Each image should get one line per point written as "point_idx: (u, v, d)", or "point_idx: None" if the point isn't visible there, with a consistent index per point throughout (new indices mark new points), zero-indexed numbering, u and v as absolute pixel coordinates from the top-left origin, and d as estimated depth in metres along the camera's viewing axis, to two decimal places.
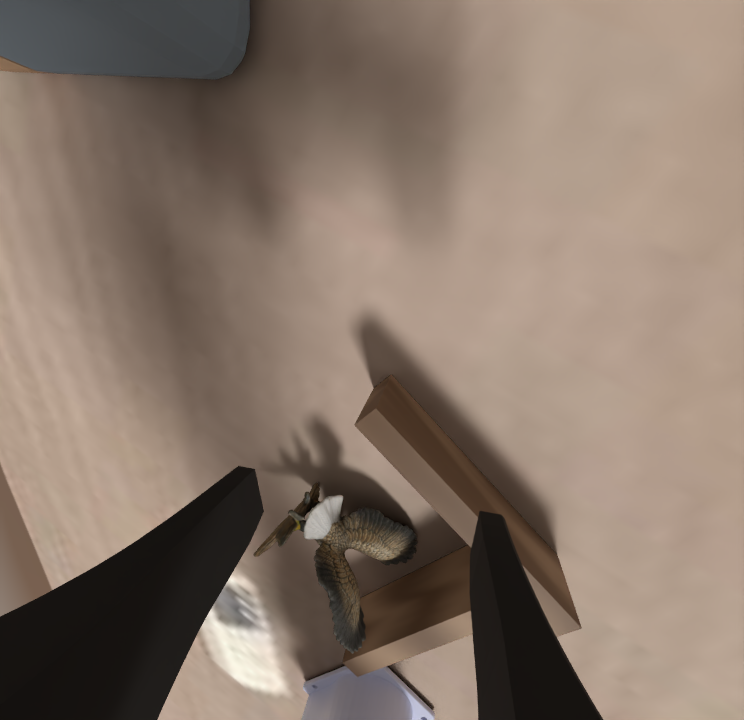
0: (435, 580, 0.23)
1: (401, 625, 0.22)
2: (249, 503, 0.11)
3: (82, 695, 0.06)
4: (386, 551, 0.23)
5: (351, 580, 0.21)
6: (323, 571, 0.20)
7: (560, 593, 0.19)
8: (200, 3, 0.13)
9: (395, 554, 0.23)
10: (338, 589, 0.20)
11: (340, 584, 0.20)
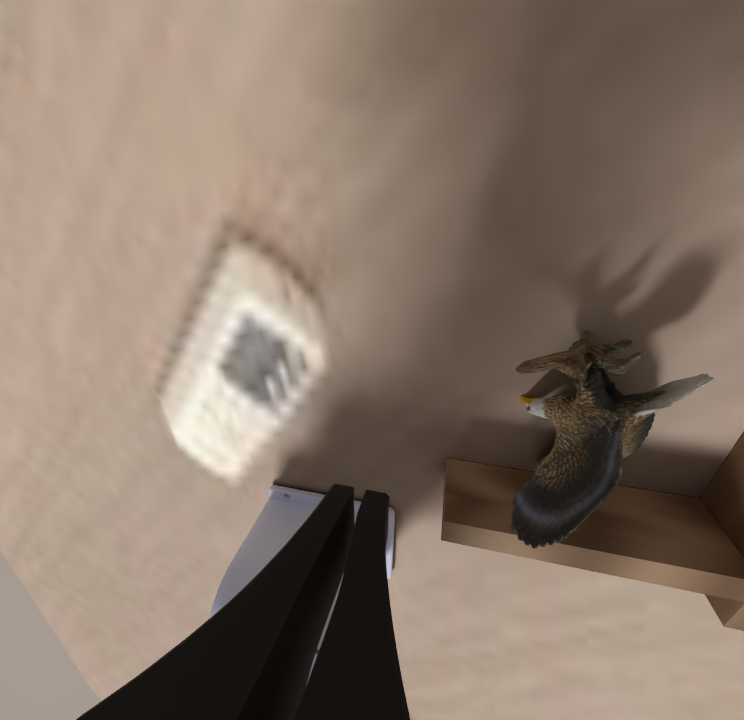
0: None
1: None
2: (348, 524, 0.10)
3: None
4: None
5: None
6: None
7: None
8: None
9: None
10: None
11: None
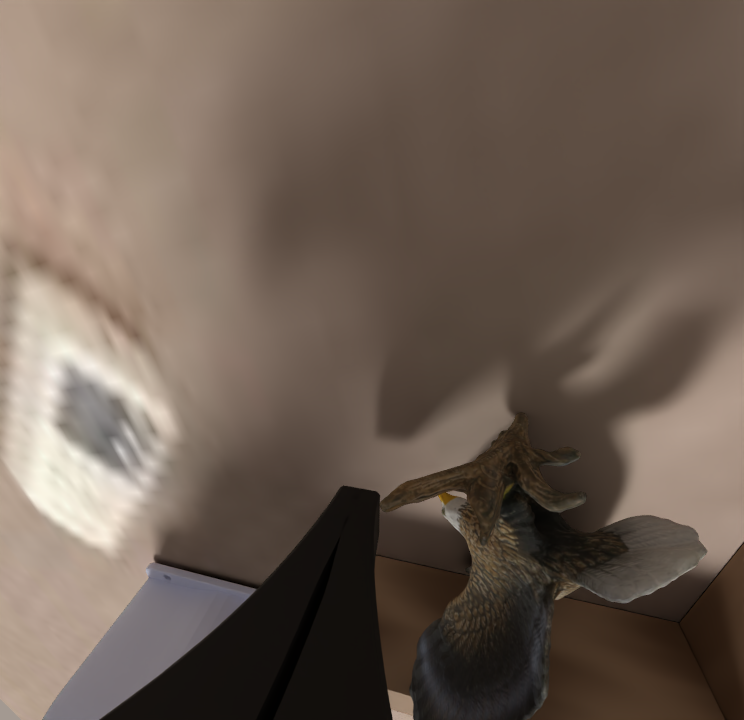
0: None
1: None
2: None
3: None
4: None
5: None
6: None
7: None
8: None
9: None
10: None
11: None
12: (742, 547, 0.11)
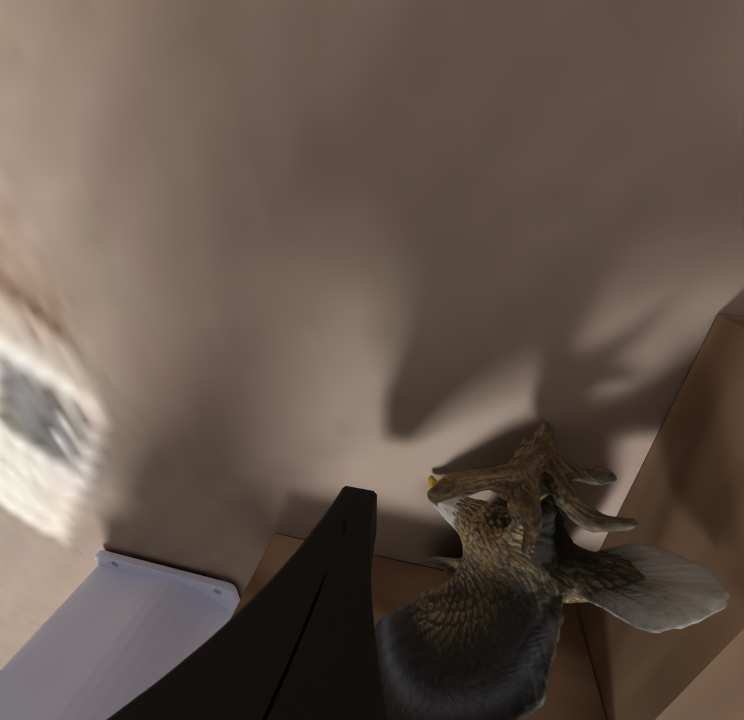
0: None
1: None
2: None
3: None
4: None
5: None
6: None
7: None
8: None
9: None
10: None
11: None
12: None
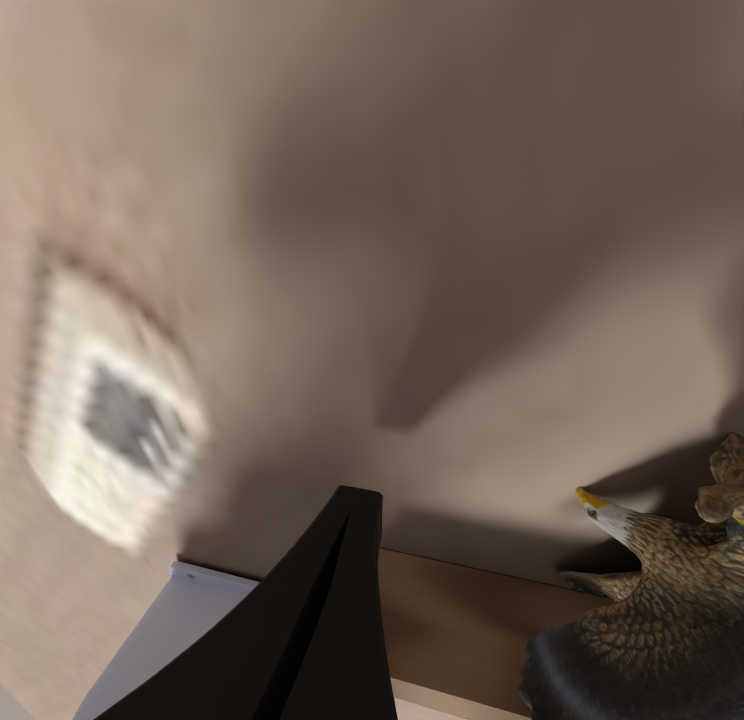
0: None
1: (503, 678, 0.12)
2: None
3: None
4: None
5: None
6: None
7: None
8: None
9: None
10: None
11: None
12: None
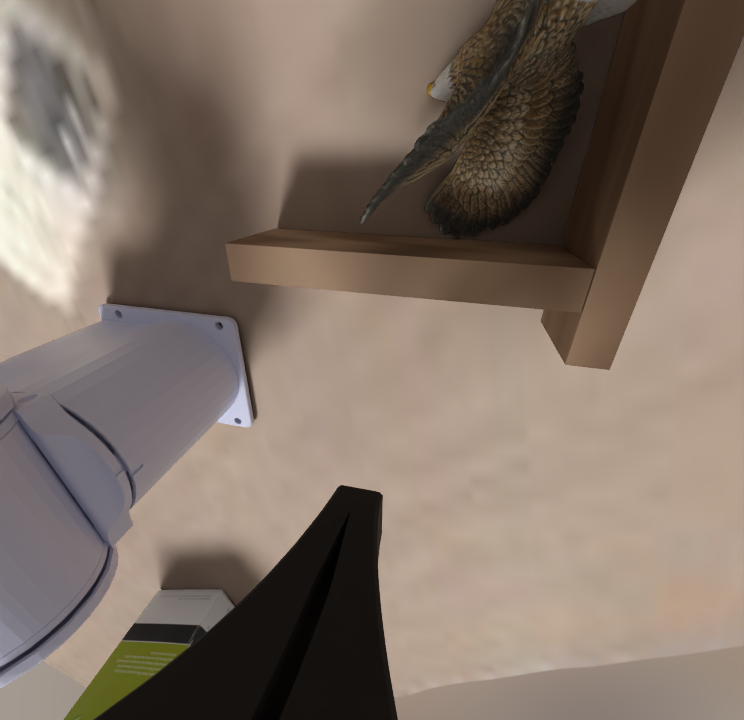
0: (431, 243, 0.15)
1: (358, 248, 0.13)
2: None
3: None
4: (504, 178, 0.13)
5: (475, 127, 0.11)
6: (527, 27, 0.09)
7: None
8: None
9: (484, 201, 0.14)
10: (494, 91, 0.09)
11: (495, 94, 0.10)
12: (598, 112, 0.13)
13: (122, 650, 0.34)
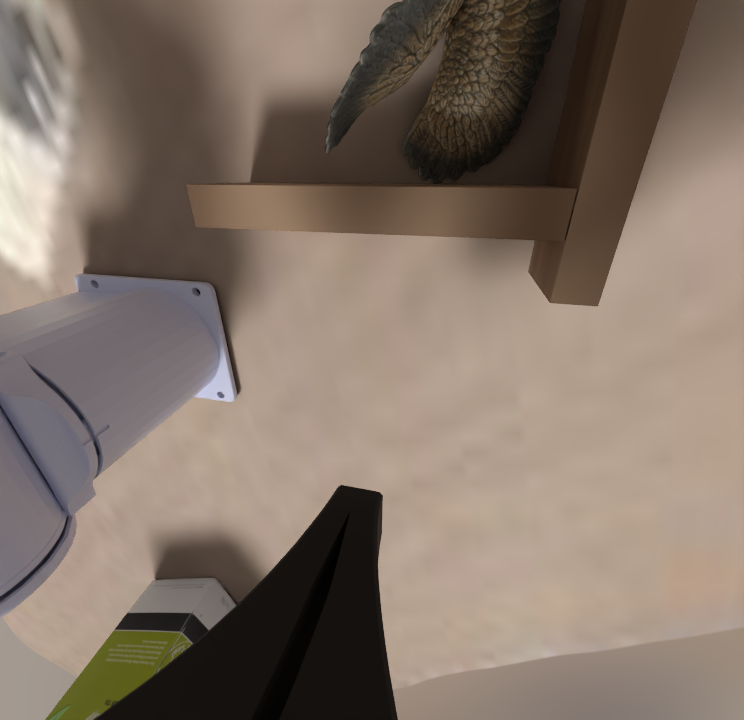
0: None
1: (326, 185, 0.13)
2: None
3: None
4: (481, 103, 0.12)
5: (443, 32, 0.10)
6: None
7: None
8: None
9: (462, 134, 0.13)
10: None
11: None
12: (580, 30, 0.12)
13: (115, 639, 0.34)
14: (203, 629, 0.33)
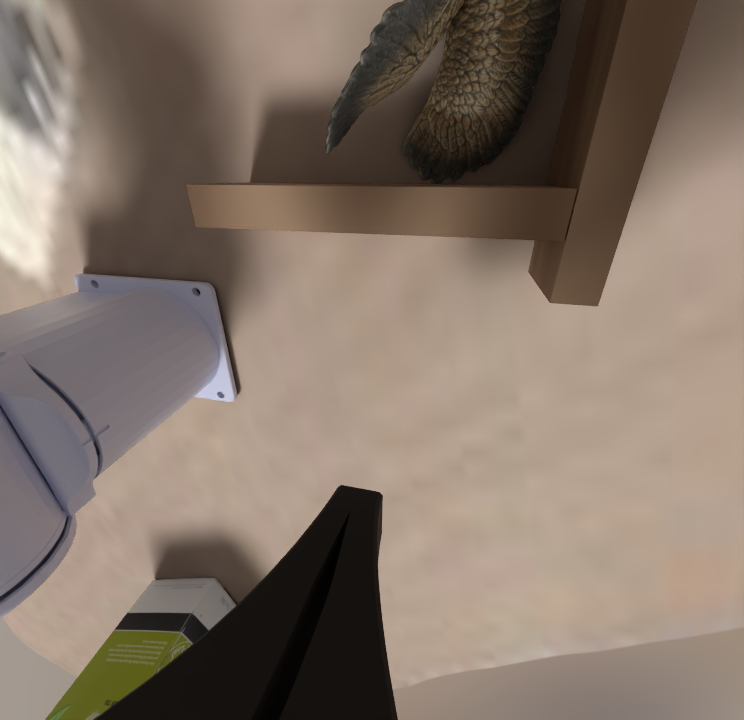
0: None
1: (326, 185, 0.13)
2: None
3: None
4: (481, 103, 0.12)
5: (443, 32, 0.10)
6: None
7: None
8: None
9: (462, 134, 0.13)
10: None
11: None
12: (580, 30, 0.12)
13: (115, 639, 0.34)
14: (203, 629, 0.33)
